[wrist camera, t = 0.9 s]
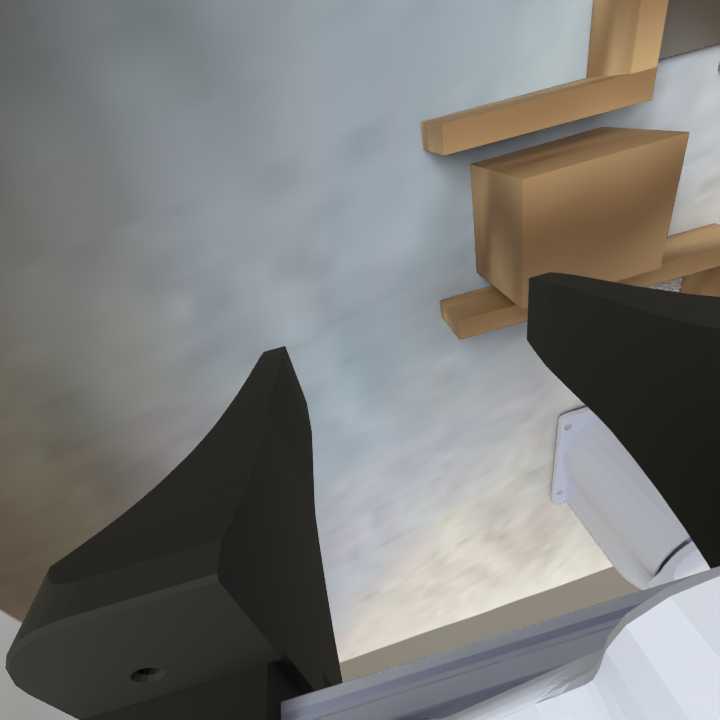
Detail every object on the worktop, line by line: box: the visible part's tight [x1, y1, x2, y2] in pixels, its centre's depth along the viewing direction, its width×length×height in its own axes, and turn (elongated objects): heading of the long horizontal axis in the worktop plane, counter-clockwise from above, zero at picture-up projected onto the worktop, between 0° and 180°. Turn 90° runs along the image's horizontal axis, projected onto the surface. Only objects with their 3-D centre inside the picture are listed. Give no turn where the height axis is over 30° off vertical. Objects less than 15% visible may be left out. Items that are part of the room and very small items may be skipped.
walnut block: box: [470, 127, 689, 309], centre depth 17 cm, size 5×6×4 cm
